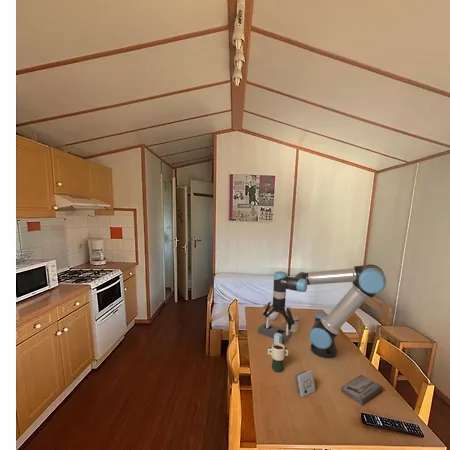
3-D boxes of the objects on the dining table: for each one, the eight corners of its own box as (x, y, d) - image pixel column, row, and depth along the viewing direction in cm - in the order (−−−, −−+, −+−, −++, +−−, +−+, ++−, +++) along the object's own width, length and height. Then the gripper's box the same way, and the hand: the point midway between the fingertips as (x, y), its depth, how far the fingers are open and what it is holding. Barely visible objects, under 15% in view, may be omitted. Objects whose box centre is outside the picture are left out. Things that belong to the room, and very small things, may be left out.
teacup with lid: (297, 326, 191) (297, 311, 190) (300, 332, 182) (301, 316, 181) (280, 326, 191) (281, 311, 190) (283, 332, 182) (284, 316, 181)
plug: (281, 350, 159) (281, 334, 158) (278, 352, 156) (279, 336, 156) (276, 348, 161) (276, 332, 161) (273, 350, 158) (274, 334, 158)
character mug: (286, 365, 143) (287, 343, 142) (288, 374, 136) (289, 350, 135) (266, 364, 144) (267, 342, 143) (268, 372, 137) (268, 349, 136)
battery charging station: (290, 336, 176) (291, 330, 175) (284, 342, 168) (284, 335, 168) (265, 327, 188) (265, 321, 188) (258, 332, 181) (258, 326, 180)
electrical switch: (302, 398, 118) (301, 378, 119) (293, 392, 123) (293, 373, 123) (315, 391, 123) (315, 372, 123) (307, 386, 128) (306, 367, 128)
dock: (286, 349, 159) (286, 347, 159) (280, 355, 153) (280, 352, 153) (274, 345, 164) (274, 343, 164) (268, 350, 158) (268, 348, 158)
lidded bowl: (276, 315, 211) (277, 302, 210) (280, 322, 199) (281, 308, 198) (261, 315, 210) (261, 302, 210) (264, 322, 198) (265, 308, 197)
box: (382, 392, 124) (382, 385, 123) (362, 406, 115) (362, 399, 114) (361, 379, 133) (361, 373, 133) (340, 392, 124) (340, 386, 123)
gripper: (301, 300, 152) (299, 335, 153) (264, 290, 167) (263, 322, 169) (296, 304, 146) (294, 340, 147) (258, 293, 162) (257, 326, 163)
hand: (277, 330), depth 158 cm, fingers open, 13 cm apart
